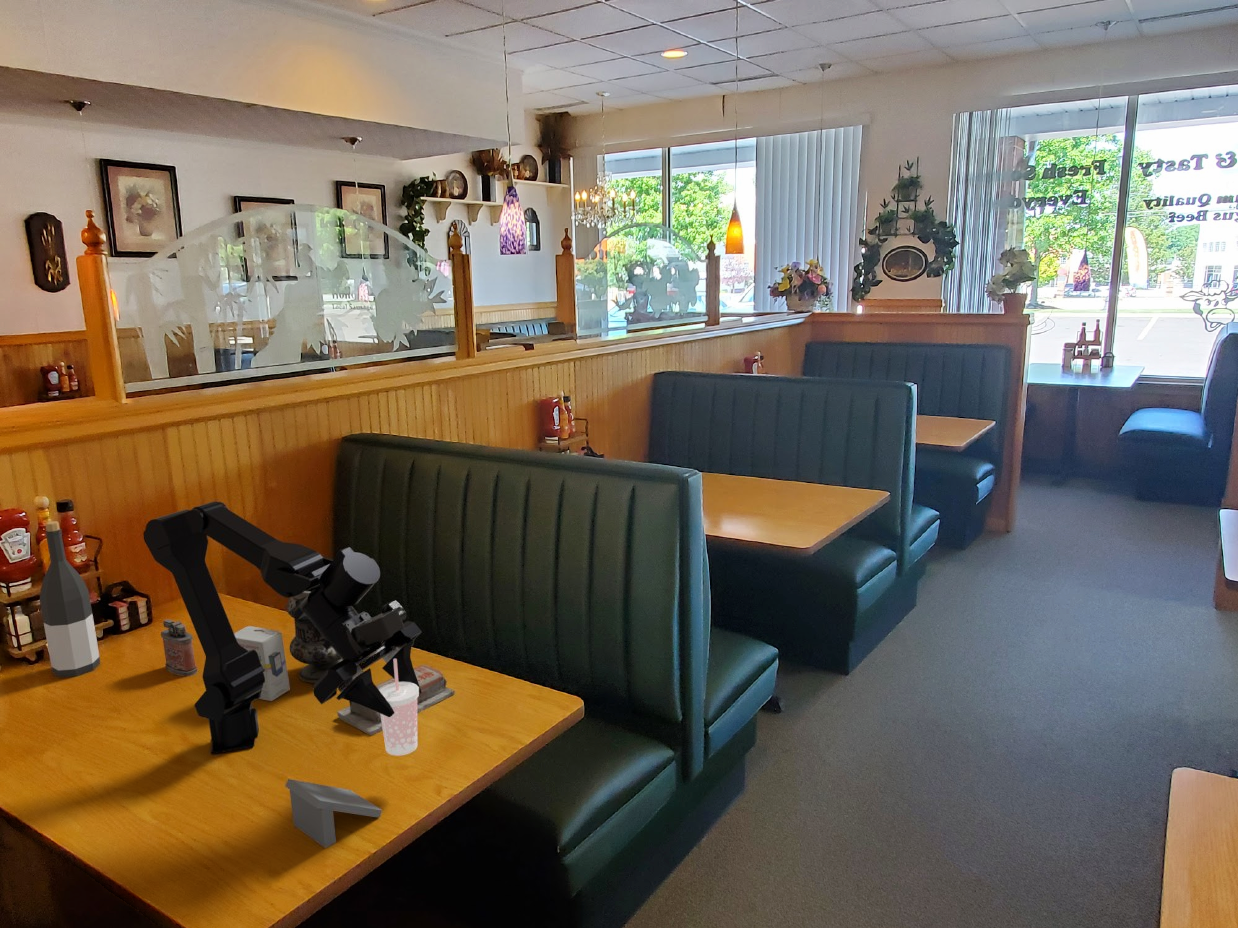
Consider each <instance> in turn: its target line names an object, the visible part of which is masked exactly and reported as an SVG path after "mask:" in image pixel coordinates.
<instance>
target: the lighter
mask: <svg viewBox="0 0 1238 928" xmlns="http://www.w3.org/2000/svg"><path fill="white" fill-rule="evenodd" d="M162 625H163V627H164V628H166V629H164V630H162V631H161V632H160V637H161V638H162V644H163V651H164V656H165V657H164V658H165V664H164V665H165V669H166V670H167V671H168V672H170V673H171V674H174V675H178V676H182V677H191V676H193V675H196V674H197V673H198V667H197V666H196V660H195V654H194V647H193V640H194V638H193V634H191V633H190V632H188V631H187V628H186V624H183V623H182V622H181V621H180V620H177V621H174V620H171V619H169V618H168V619H164V620H163V624H162Z"/></svg>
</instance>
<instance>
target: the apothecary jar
mask: <svg viewBox="0 0 1238 928" xmlns="http://www.w3.org/2000/svg"><path fill="white" fill-rule="evenodd" d="M320 587H322V586H321V585H320V584H319V585H317V586H315V587H313V588H311V589H309V590H307V591H305V592H303V593H300V594H298V595H296V596H294V597H290V598H288V600H287V603H286V605H285V609H286V612H287V613H288V614H287V615H289V616H290V617H292V618H293V620H294V634H295V635H294V637H293V638H292V639H291V641H290V643H289V652H290V653H289V654H290V655H291V656H292V658H293V659H295V660H297V662H299V663H303V664H305V666H304V667H302V668H301V669H300V670H299V672H298V678H299V679H300V680H301V681H302V682H306V683H309V684H315V683H316V682H317V681H318V680H319V679H320V678H321V677H322V675H323V674H324V673H325V672H326V671H327V670H328V669H329V668H331V667H333V666H334V665H336V664H337V663H339V662H341V661H342V659H341V657H340V656H339V655H338V654H337V652H336V651H335V650H334V649H333V648H330V649H328V650H326V649H325V648H324V646H323V644H324V643H325V642H326V641H327V640H326V639H325V638H324V636H323V635H322V634H321V633H320V631H319V630H318V629H317V628H316V627H315V625H314V624H313V623H312V622H311V620H310V619H309V618H308V617H307V615H306V616H304V617H302V618H300V619H298V620H296V619H295V618H294V612H295V608H296V604H295V601H297V600H299V599H301V598H303V597H305V596H306V597H307V596H308V595H309V593H310V592H311V591H312V590H314V589H316V588H320Z"/></svg>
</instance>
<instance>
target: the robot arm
mask: <svg viewBox="0 0 1238 928" xmlns="http://www.w3.org/2000/svg"><path fill="white" fill-rule="evenodd" d="M142 535H143V541H144V543H145V546H147V549H148V550H149V552H150V554H151V555H152V558H153V559H154V561H155V562H156V563H157V564H159V565H161V567H163V568H165V569H166V570H167V571H168V572H171V574H172V576H173V578H174V581H175V583H176V586H177V588H178V591H179V593H180V597H181V598H182V601H183V604H184V606H185V608H186V611H187V613H188V616H189V618H190V621H191V623H192V626H193V628H194V631H195V633H196V636H197V638H198V641H199V642H200V645H201V648H202V650H203V652H204V656H205V660H204V665H203V671H202V681H203V684H204V689H205V691H204V692H203V693H202V694H201V696H200V697H199V698H198V700H197V701H196V702H195V703H194V708H195V710H196V713H197V716H198V717H199V718H203V719H207V720H208V725H209V732H210V738H211V739H210V741H211V747H210V754H212V755H215V754H220V753H221V754H222V753H226V752H227V753H228V752H233V751H238V750H244V749H250V748H253V747H255V743H256V739H257V738H258V737H259V733H260V726H259V720H258V710H257V708H256V707H253V703H252V702H255V701H256V700H258V698H260V696H261V690H262V687H263V683H265V677H264V673H263V672H264V671H265V669H264V668H263V667H262V665H261V663H260V660H259V657H258V653H257V652H256V651H255V650H254V649H252V650H250V651H248V650H247V649H245V648H244V647H242V646H241V645H239V644H238V642H237V640H236V637H235V635H234V633H235V632H234V629H233V627H232V625H231V623H230V619H229V617H228V615H227V613H226V611H225V608H224V605H223V603H222V600H221V598H220V597H221V596H219V592H218V589H217V588H216V585H215V583H214V580H213V578H212V575H211V573H210V570H209V567H208V566H207V562H206V557H207V552H208V546H209V538H210V539H211V540H213V541H215V542H216V543H218V544H220V545H221V546H223V547H225V548H226V549H228V550H229V551H231V552H232V553H234V554H236V555H237V556H238V557H241V558H242V559H243V560H245V561H246V562H248V563H249V564H251V565H253V566H254V567H256V568H257V570H259V572H260V574H261V578H262V580H263V582H264V583H265V584H266V585H267V586H269V587H270V588H271V589H272V590H273V591H274V592H275V593H277V594H278V595H279V596H280V597H283V598H285V599H290V598H291V597H294V596H296V595H298V594H300V593H303V592H305V591H307V590H309V589H311V588H313V587H315V586H317V585H319V584H320V585H321V586H322V587H320V588H316V589H314V590H312V591H311V592H310V593H309V595H308V596H307V597H306V596H305V597H303V598H301V599H299V600H297V601H295V604H296V608H295V612H294V618H295V619H296V620H298V619H300V618H302V617H304V616H306V615H307V617H308V618H309V619H310V620H311V622H312V623H313V624H314V625H315V627H316V628H317V629H318V630H319V631H320V633H321V634H322V635H323V636H324V638H325V639H326V640H327V641H326V642H325V643H324V644H323V646H324V648H325V649H326V650H328V649H330V648H333V649H334V650H335V651H336V652H337V654H338V655H339V656H340V657H341V659H342V661H341V662H339V663H337V664H336V665H334V666H333V667H331V668H329V669H328V670H327V671H326V672H325V673H324V674H323V675H322V677H321V678H320V679H319V680H318V681H317V682H316V683H313V684H312V685H313V686H312V689H313V697H315V698H316V700H317V701H318V702H319V703H320V705H323V704H325V703H326V702H327V701H329V700H331V699H332V698H334V697H335V698H336V700H337V701H340V700H342V699H343V700H346V701H348V702H349V701H351V702H354V703H357V704H360V705H362V706H365V707H367V708H369V709H372V710H374V711H376V712H378V713H380V714H383V715H385V716H387V717H391V716H392V715H393V714H394V711H393V709H392V707H391V706H390V704H389V703H388V701H387V700H386V699H385V697H384V696H383V695H382V693H381V692H380V691H379V690H378V688H377V687H376V684H375V683H374V682H373V677H372V676H373V675H372V670H371V668H370V666H372V665H374V664H375V663H376V662H378V661H380V660H381V659H382V660H383V661H384V662H385V663H386V664H385V665H384V666H382V667H381V669H382V671H384V672H385V673H386V674H388V675H389V677H391V678H394V679H395V674H394V661H393V659H397V669H398V682H411V683H414V684H416V685H417V686H418V687H419V695H420V694H421V693H422V691H421V689H420V686H419V683H418V680H417V677H416V675H415V672H414V666H413V663H412V658H411V654H412V647H413V646H414V644H415V640H416V638H417V637H419V635H421V633H422V630H421V629H420V627H419V626H418V625H417V624H416V623H415V622H414V621H408V620H407V621H405V620H406V618H407V612H406V611H405V609H404V607H403V606H402V605H401V604H400V603H399V602H398V601H397V600H393V601H390V602H387V603H386V604H383V606H381V613H379V614H377V615H375V616H373V617H371V616H370V614H369V613H368V612H365V611H362V612H360V613H358V612H357V610H356V609H355V608H354V607H353V606H355V605H357V604H359V602H360V600H362V599H363V597H364V596H365V595H366V594H367V593H368V592H369V591H370V590H371V589H372V587H373V586H374V585H375V584H376V583H377V582H378V581H379V580H380V578H381V570H380V569H381V568H380V567H379V565H378V564H377V562H376V560H375V559H374V558H371V557H369V556H368V555H366V554H364V553H361V552H355V551H354V550H353V549H352V548H351V546H347V547H344V548H342V549H339V550H338V552H337V553H336V555H335V556H334V559H333V558H329V557H326V556H323V555H322V554H320V553H319V552H318V550H315V549H313V548H310V547H307V546H305V545H302V544H300V543H293V542H287V541H281V540H279V539H277V538H275V537H274V536H272V535H270V534H268V533H267V532H265V531H264V530H262V529H260V528H259V527H258V526H256V525H254V524H252V523H251V522H249V521H248V520H246V519H244V518H243V517H242V516H240V515H239V514H236V513H235V512H233V510H232V511H231V510H230V509H229V508H228V507H227V504H225V503H224V502H221V501H216V500H215V501H211V502H207V503H203V504H200V505H197V506H193V507H192V508H191V509H181V510H180V511H179V510H178V511H175V512H173V513H172V512H171V513H169V514H165V515H162V516H159V517H156V518H153V519H150V520H148V521H147V523H146V525H145V528H144V531H143V533H142ZM208 537H209V538H208ZM294 618H293V619H294ZM404 621H405V622H404ZM403 622H404V623H403ZM367 668H368V669H367ZM364 670H365V671H364ZM338 691H339V694H338V693H337V692H338ZM337 694H338V695H337ZM336 696H337V697H336Z"/></svg>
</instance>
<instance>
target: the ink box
mask: <svg viewBox="0 0 1238 928" xmlns="http://www.w3.org/2000/svg"><path fill="white" fill-rule="evenodd" d="M234 635H235V637H236V640H237V642H238V644H239V645H241V646H242V647H244V648H245V649H247V650H248V651H250V650H252V649H254V650H255V651H256V652H257V653H258V657H259V660H260V663H261V665H262V667H263V668H264V669H265V671H264V672H263V673H264V677H265V683H263V687H262V690H261V696H260V698H258V699H259V700H264V701H269V702H272V701H274V700H276V699H278V698H279V697H281V696H282V695H284V694H285V693H287V692H288V691H290V690H291V687H290V686H291V685H290V680H289V674H288V667H287V660H286V653H285V648H284V647H285V646H284V641H283V634H282V632H280V631H279V630H275V629H274V630H273V629H268V628H263V627H257V626H253V625H248V626H245V627H244V628H242V629H240V630H238V631H236V632H234ZM258 699H257V700H258Z"/></svg>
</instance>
